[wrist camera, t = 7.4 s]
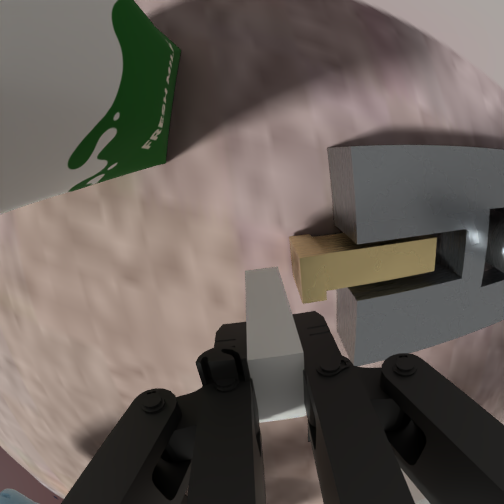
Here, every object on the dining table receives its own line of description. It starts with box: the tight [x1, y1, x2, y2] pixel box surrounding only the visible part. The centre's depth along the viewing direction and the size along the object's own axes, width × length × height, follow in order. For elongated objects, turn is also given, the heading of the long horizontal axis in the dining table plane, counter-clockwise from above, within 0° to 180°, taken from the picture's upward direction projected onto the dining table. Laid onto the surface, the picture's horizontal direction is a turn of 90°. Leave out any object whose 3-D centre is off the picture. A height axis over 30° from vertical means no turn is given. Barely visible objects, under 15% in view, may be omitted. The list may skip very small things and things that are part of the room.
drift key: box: [289, 233, 437, 304], centre depth 15 cm, size 8×2×4 cm, turn 98°
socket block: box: [327, 145, 504, 366], centre depth 15 cm, size 16×12×4 cm
